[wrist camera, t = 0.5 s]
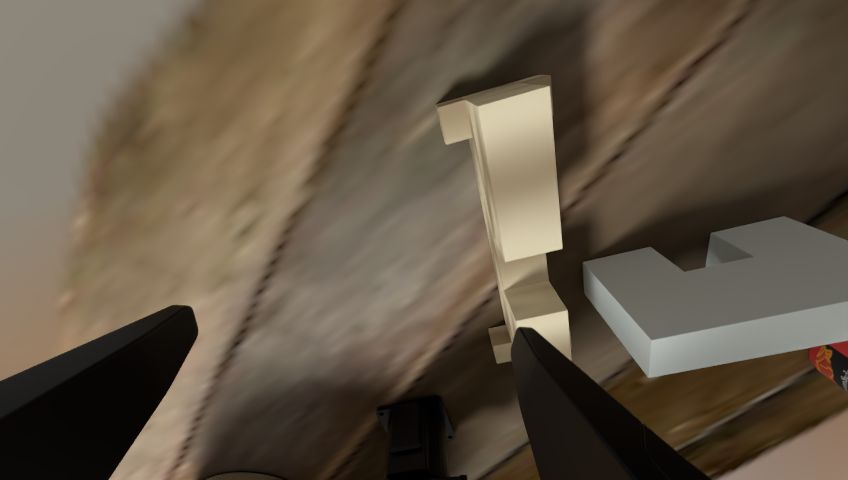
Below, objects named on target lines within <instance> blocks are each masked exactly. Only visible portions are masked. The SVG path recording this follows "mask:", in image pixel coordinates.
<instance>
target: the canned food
mask: <svg viewBox="0 0 848 480" xmlns="http://www.w3.org/2000/svg"><path fill="white" fill-rule="evenodd" d="M809 358H810V360H811V362H812V363H813V364H814V366H815V367H816V368H817V369H818V370H819V371H820V372H821V373H822V374H824V375H825V376H826V377H828V378H829V379H830V380H832V381H833V382H834V383H836V384H837V385H838V386H840V387H841V388H842V389H844V390H845V391H846V392H848V341H843V342H838V343H832V344H827V345H822V346H816V347H811V348H810V350H809Z"/></svg>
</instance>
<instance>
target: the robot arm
mask: <svg viewBox="0 0 848 480" xmlns="http://www.w3.org/2000/svg"><path fill="white" fill-rule="evenodd" d="M197 336H198V326H197V323H196V319H195V315H194V312H193V309H192V308H191V307H190V306H186V305H172V306H169V307H167V308H165V309H163V310H160V311H158V312H156V313H154V314H151V315H149V316H147V317H144V318H142V319H140V320H138V321H135V322H133V323H131V324H129V325H126V326H124V327H122V328H120V329H117V330H115V331H113V332H111V333H108V334H106V335H104V336H101V337H99V338H97V339H95V340H92V341H90V342H88V343H86V344H83V345H81V346H79V347H77V348H74V349H72V350H70V351H67V352H65V353H63V354H61V355H58V356H56V357H54V358H52V359H49V360H47V361H45V362H43V363H41V364H38V365H36V366H33V367H31V368H29V369H27V370H25V371H22V372H20V373H18V374H15V375H13V376H11V377H9V378H6V379H4V380H2V381H0V480H109V478H110V477H111V475H112V474H113V472H114V471H115V469H116V468H117V466H118V465H119V463H120V462H121V460H122V459H123V457H124V456H125V454H126V453H127V451H128V450H129V448H130V447H131V445H132V444H133V442H134V441H135V439H136V438H137V436H138V435H139V433H140V432H141V431H142V429H143V428H144V426H145V425H146V423H147V422H148V420H149V419H150V417H151V416H152V414H153V413H154V411H155V410H156V408H157V407H158V405H159V404H160V402H161V401H162V399H163V398H164V396H165V395H166V393H167V391H168V390H169V388H170V386H171V385H172V383H173V381H174V379H175V377H176V376H177V374H178V372H179V370H180V368H181V366H182V364H183V363H184V361H185V359H186V357H187V355H188V353H189V351H190V350H191V348H192V346H193V344H194V342H195V340H196V338H197ZM511 360H512V366H513V372H514V377H515V383H516V389H517V394H518V400H519V405H520V409H521V413H522V417H523V421H524V424H525V427H526V431H527V434H528V438H529V441H530V445H531V448H532V452H533V455H534V458H535V462H536V465H537V469H538V472H539V476H540V479H541V480H712V479H711V478H709V477H708V476H707V475H706V474H704V473H703V472H702V471H701V470H699V469H698V468H697V467H695V466H694V465H693V464H692V463H690V462H689V461H688V460H687V459H685V458H684V457H683V456H682V455H680V454H679V453H678V452H677V451H676V450H674V449H673V448H672V447H671V446H670V445H668V444H667V443H666V442H665V441H664V440H662V439H661V438H660V437H659V436H658V435H657V434H655V433H654V432H653V431H652V430H651V429H650V428H648V427H647V426H646V425H645V424H642V423H641V421H640V420H639V419H638V418H637V417H636V416H634V415H633V414H632V413H631V412H630V411H629V410H627V409H626V408H625V407H624V406H623V405H622V404H620V403H619V402H618V401H617V400H616V399H615V398H614V397H612V396H611V395H610V394H609V393H608V392H607V391H605V390H604V389H603V388H602V387H601V386H600V385H598V384H597V383H596V382H595V381H594V380H593V379H591V378H590V377H589V376H588V375H587V374H586V373H585V372H583V371H582V370H581V369H580V368H579V367H578V366H576V365H575V364H574V363H573V362H572V361H571V360H569V359H568V358H567V357H566V356H565V355H564V354H562V353H561V352H560V351H559V350H558V349H557V348H556V347H554V346H553V345H552V344H551V343H550V342H549V341H547V340H546V339H545V338H544V337H543V336H542V335H540V334H539V333H538V332H537V331H536V330H535V329H533V328H531V327H518V328H517V329H516V332H515V335H514V339H513V342H512V346H511ZM376 415H377V417H378V419H379V420H380V422H381V424H382V426H383V428H384V430H385V432H386V434H387V442H386V454H385V466H384V478H383V480H467V475H460V476H458V477H450V474H449V461H448V449H447V441H449V440H453V439H454V438H455V433H454V430H453V427H452V425H451V422H450V419H449V416H448V414H447V411H446V408H445V406H444V403H443V400H442V398H441V397H440V396H434V397H429V398H423V399H418V400H413V401H408V402H403V403H398V404H393V405H387V406H382V407H379V408H377V412H376Z"/></svg>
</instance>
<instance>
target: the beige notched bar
mask: <svg viewBox="0 0 848 480" xmlns="http://www.w3.org/2000/svg"><path fill="white" fill-rule="evenodd" d="M436 108H437V112H438V117H439V121H440V125H441V129H442V134H443V138H444V141H445V143H446V145H447V144H451V143H454V142H458V141H462V140H465V139H469V142H470V147H471V152H472V157H473V162H474V168H475V173H476V178H477V183H478V188H479V193H480V198H481V203H482V208H483V213H484V218H485V223H486V228H487V233H488V238H489V243H490V248H491V253H492V258H493V263H494V268H495V273H496V278H497V284H498V289H499V294H500V299H501V304H502V309H503V314H504V319H505V324H506V325H502V326H498V327H493V328H488V331H489V335H490V339H491V344H492V348H493V351H494V355H495V359H496V362H497V364H499V363H504V362H509V361H512V360H511V346H512V342H513V339H514V335H515V332H516V329H517V328H518V327H531V328H533V329H535V330H536V331H537V332H538V333H539V334H540V335H542V336H543V337H544V338H545V339H546V340H547V341H549V342H550V343H551V344H552V345H553V346H554V347H556V348H557V349H558V350H559V351H560V352H561V353H562V354H564V355H565V356H566V357H567V358H568V359H569V360H571V361H572V359H571V349H572V344H571V331H570V329H569V322H568V310H567V309H566V307H565V305H564V304H563V302H562V301H561V299H560V298H559V296H558V294H557V293H556V291H555V290H554V288H553V287H552V285H551V283H550V282H549V278H548V269H547V260H546V253H547V252H551V251H556V250H560V249H563V247H562V234H561V222H560V209H559V197H558V184H557V172H556V159H555V146H554V134H553V121H552V115H554V112H553V99H552V86H551V75H535V76H532V77H529V78H525V79H522V80H518V81H515V82H511V83H508V84H505V85H501V86H498V87H494V88H491V89H487V90H484V91H481V92H477V93H474V94H470V95H467V96H463V97H460V98H457V99H453V100H450V101H446V102H443V103H439V104H436Z"/></svg>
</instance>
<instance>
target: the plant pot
mask: <svg viewBox="0 0 848 480" xmlns="http://www.w3.org/2000/svg"><path fill="white" fill-rule="evenodd" d="M205 480H283V479H280V478H277V477H273V476H269V475H264V474H258V473H244V472H235V473H226V474H220V475H216V476H213V477H210V478H208V479H205Z"/></svg>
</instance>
